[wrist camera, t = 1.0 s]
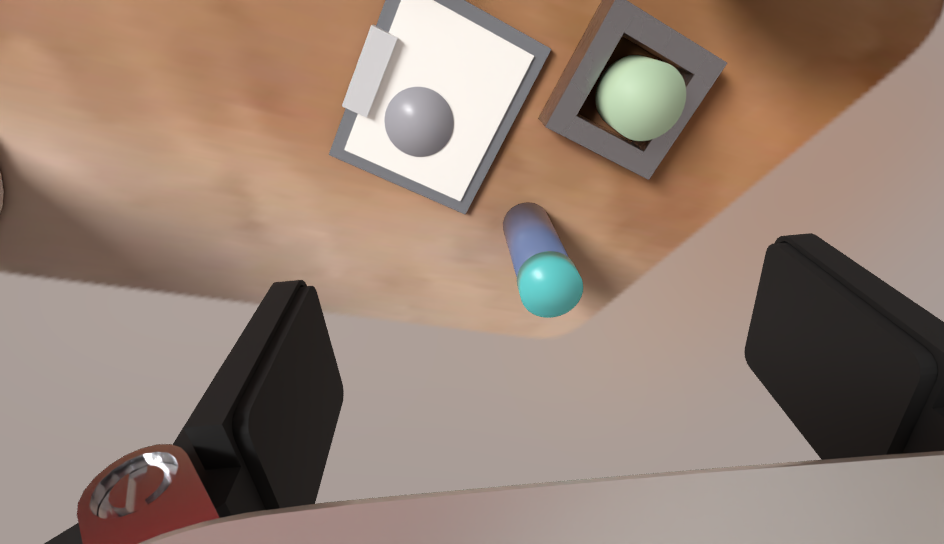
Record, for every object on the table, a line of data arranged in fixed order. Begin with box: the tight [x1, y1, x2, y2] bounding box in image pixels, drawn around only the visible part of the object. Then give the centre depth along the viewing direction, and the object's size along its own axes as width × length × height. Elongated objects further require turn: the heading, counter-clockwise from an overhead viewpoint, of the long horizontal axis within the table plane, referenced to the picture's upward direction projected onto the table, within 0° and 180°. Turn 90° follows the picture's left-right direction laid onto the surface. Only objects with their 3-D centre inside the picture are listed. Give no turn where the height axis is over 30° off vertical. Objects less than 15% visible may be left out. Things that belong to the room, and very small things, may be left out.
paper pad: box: [329, 0, 551, 214], centre depth 32 cm, size 12×10×1 cm
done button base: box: [538, 0, 727, 180], centre depth 32 cm, size 8×8×2 cm
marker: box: [503, 203, 583, 318], centre depth 33 cm, size 4×4×10 cm
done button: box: [595, 55, 686, 141], centre depth 30 cm, size 4×4×3 cm
